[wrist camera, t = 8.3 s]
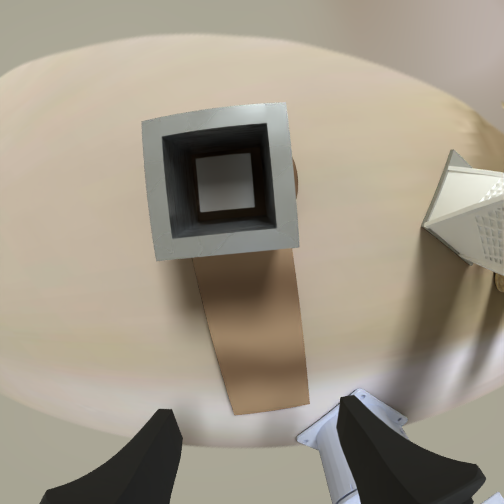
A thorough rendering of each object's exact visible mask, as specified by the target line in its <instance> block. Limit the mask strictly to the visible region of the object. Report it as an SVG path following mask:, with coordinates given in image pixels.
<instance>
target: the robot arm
mask: <svg viewBox="0 0 504 504" xmlns="http://www.w3.org/2000/svg"><path fill="white" fill-rule="evenodd" d="M362 395H363V396H362ZM407 421H408V419H407V417H406V416H404V415H402V414H401V413H399V412H398V411H396V410H394V409H393V408H391V407H390V406H388V405H386V404H385V403H383V402H382V401H380V400H379V399H377V398H376V397H374V396H373V395H371V394H369V393H368V392H366V391H365V390H363V389H357V390H355V391H354V392H353V393H352V394H351V395H350V396H345V397H340V404H339V405H338V406H336V407H335V408H334V409H333V410H332V411H330V412H329V413H328V414H327V415H325V416H324V417H323V418H321V419H320V420H319V421H317V422H316V423H315V424H313V425H312V426H311V427H309V428H308V429H307V430H305V431H304V432H302V433H301V434H300V435H298V436H297V441H298V442H300V443H302V444H304V445H307V446H309V447H312V448H314V449H316V450H319V452H320V456H321V460H322V464H323V468H324V472H325V476H326V480H327V484H328V488H329V492H330V496H331V500H332V504H473V502H474V501H473V500H472V498H471V497H472V496H473V495H474V494H475V493H476V492H477V491H478V489H480V487H481V486H482V485H483V484H484V482H485V480H486V477H485V476H484V474H483V473H482V471H481V470H480V468H479V467H478V466H477V465H476V464H471V463H466V462H461V461H457V460H453V459H450V458H446V457H443V456H440V455H438V454H435V453H433V452H430V451H428V450H426V449H424V448H422V447H420V446H418V445H416V444H414V443H413V442H411V441H410V440H409V439H408V437H407V435H406V433H405V432H404V430H403V428H402V426H403V425H404V424H405V423H406V422H407ZM182 440H183V438H182V435H181V432H180V430H179V427H178V425H177V422H176V419H175V416H174V414H173V411H172V409H158V410H157V411H156V413H155V414H154V415H153V416H152V417H151V418H150V420H149V421H148V422H147V423H146V424H145V425H144V427H143V428H142V429H141V430H140V431H139V432H138V433H137V434H136V435H135V436H134V437H133V439H132V440H131V441H130V442H129V443H128V444H127V445H126V446H125V447H123V448H122V449H121V450H120V451H119V452H118V453H117V454H116V455H115V456H113V457H112V458H111V459H110V460H108V461H107V462H106V463H104V464H103V465H101V466H100V467H98V468H97V469H95V470H93V471H92V472H90V473H88V474H87V475H85V476H83V477H81V478H79V479H77V480H75V481H72V482H70V483H67V484H65V485H62V486H59V487H56V488H52V489H49V490H47V491H46V492H45V495H44V496H43V498H42V500H41V502H40V504H169V503H170V498H171V493H172V489H173V485H174V481H175V477H176V474H177V470H178V466H179V462H180V457H181V450H182ZM481 504H504V499H503V498H502V496H501V495H500V493H499V492H496V493H495V494H494V495H492V496H491V497H489V498H488V499H487V500H485V501H484V502H482V503H481Z"/></svg>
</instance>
